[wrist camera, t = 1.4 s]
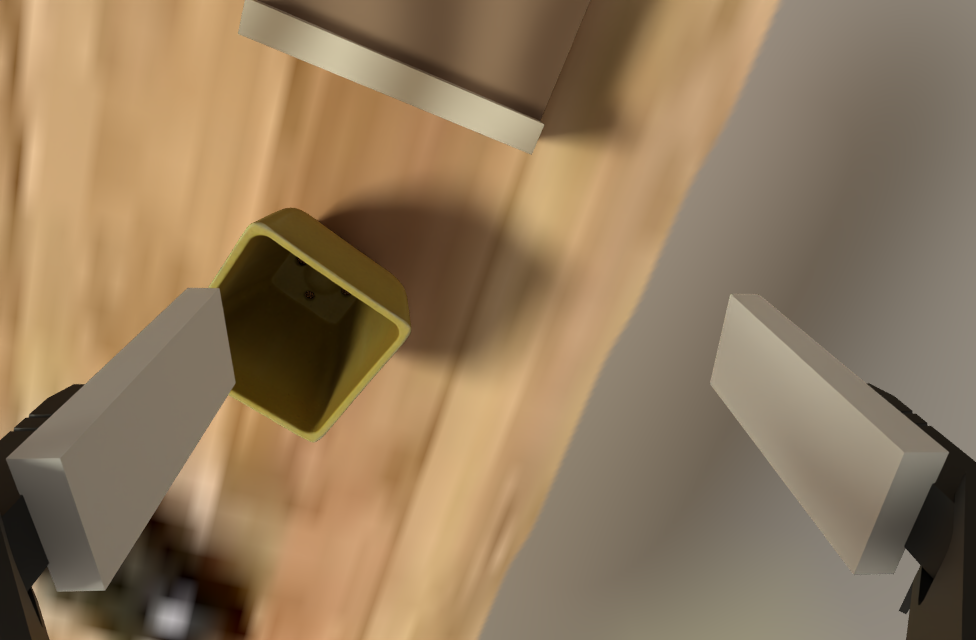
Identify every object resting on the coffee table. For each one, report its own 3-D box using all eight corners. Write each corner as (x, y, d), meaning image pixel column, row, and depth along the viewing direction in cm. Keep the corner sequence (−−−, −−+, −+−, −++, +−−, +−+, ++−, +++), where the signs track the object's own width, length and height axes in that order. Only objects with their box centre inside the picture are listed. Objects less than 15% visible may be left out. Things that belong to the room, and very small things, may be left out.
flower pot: (343, 364, 39) (314, 448, 31) (224, 287, 36) (157, 357, 28) (424, 266, 36) (415, 329, 28) (302, 175, 34) (253, 217, 26)
